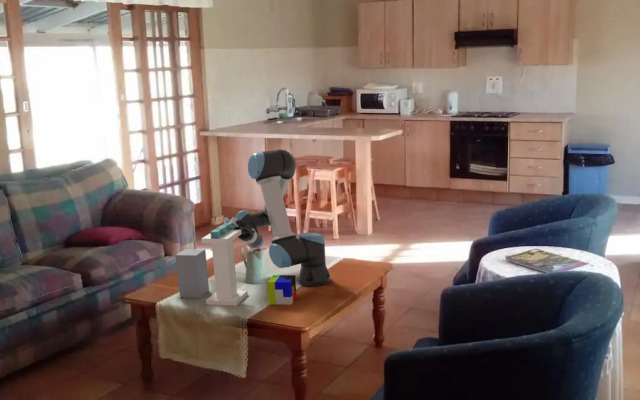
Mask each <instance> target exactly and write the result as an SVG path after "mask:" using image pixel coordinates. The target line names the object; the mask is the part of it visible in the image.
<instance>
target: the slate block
mask: <svg viewBox="0 0 640 400" xmlns="http://www.w3.org/2000/svg"><path fill="white" fill-rule="evenodd" d="M206 252H207V251H206V249H203V248H198V249H197V248H184V249H183V250H182V251H180V252H178V253H177V254H175V261H176V263H175V264H176V273H177V281H178V291H179V292H178V293H179V298H180V297H184V299H201V298H202V297H204V296H205V295H206V294H207V293H209V292H210V288H209V287H210V285H209V275H208V274H209V273H208V265H207V264H208V262H207V253H206ZM208 291H209V292H208Z"/></svg>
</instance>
